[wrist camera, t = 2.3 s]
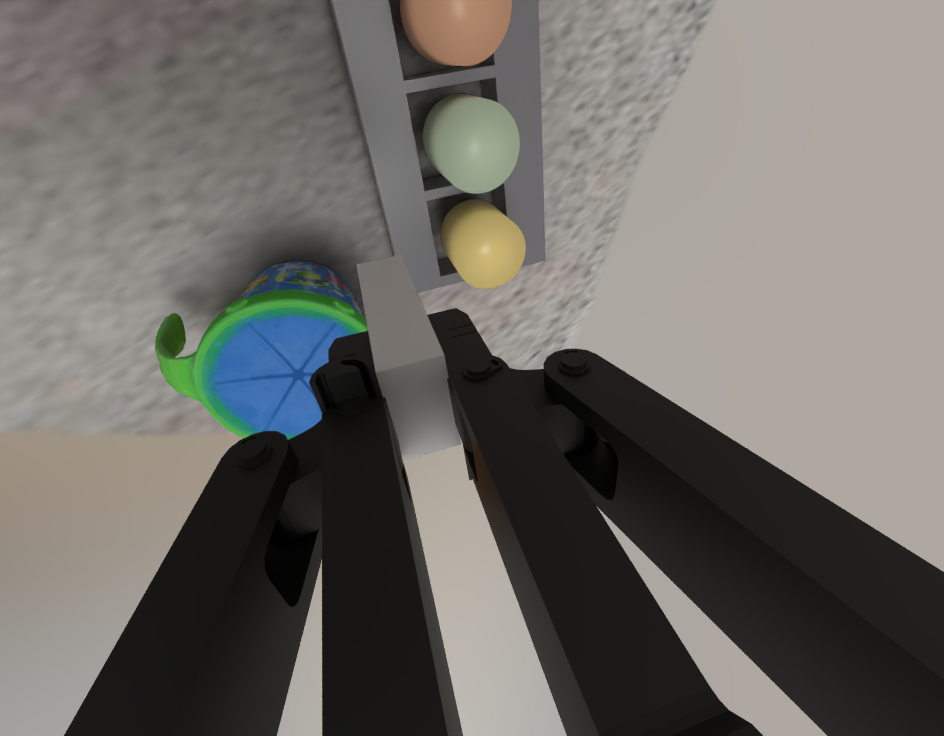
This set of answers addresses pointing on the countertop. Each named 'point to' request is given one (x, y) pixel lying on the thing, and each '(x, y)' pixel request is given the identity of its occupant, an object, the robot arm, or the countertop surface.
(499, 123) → the button sage
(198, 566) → the robot arm
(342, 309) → the snack cup
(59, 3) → the countertop surface
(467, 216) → the button mustard
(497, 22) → the button terracotta
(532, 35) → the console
